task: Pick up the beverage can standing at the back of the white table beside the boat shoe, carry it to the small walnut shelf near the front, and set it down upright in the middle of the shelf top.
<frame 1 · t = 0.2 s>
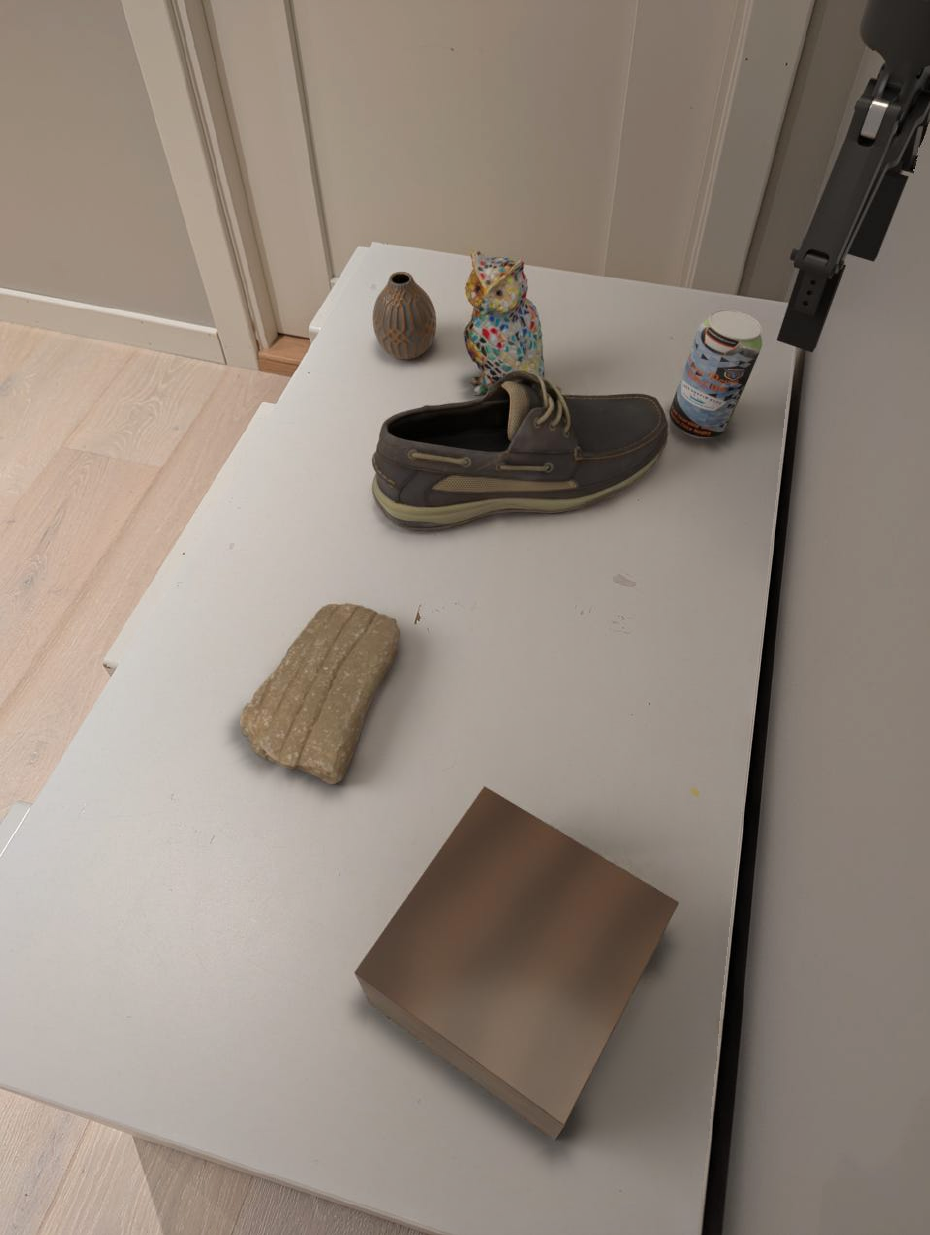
hand: (828, 297, 66), 21 cm above the table, tool pointing down, fingers open, 13 cm apart
beverage can: (701, 425, 89), on the table
boat shoe: (523, 485, 84), on the table
decorative stone: (329, 695, 71), on the table
walnut shelf: (516, 971, 58), on the table
figurine: (505, 390, 92), on the table
vase: (407, 350, 97), on the table
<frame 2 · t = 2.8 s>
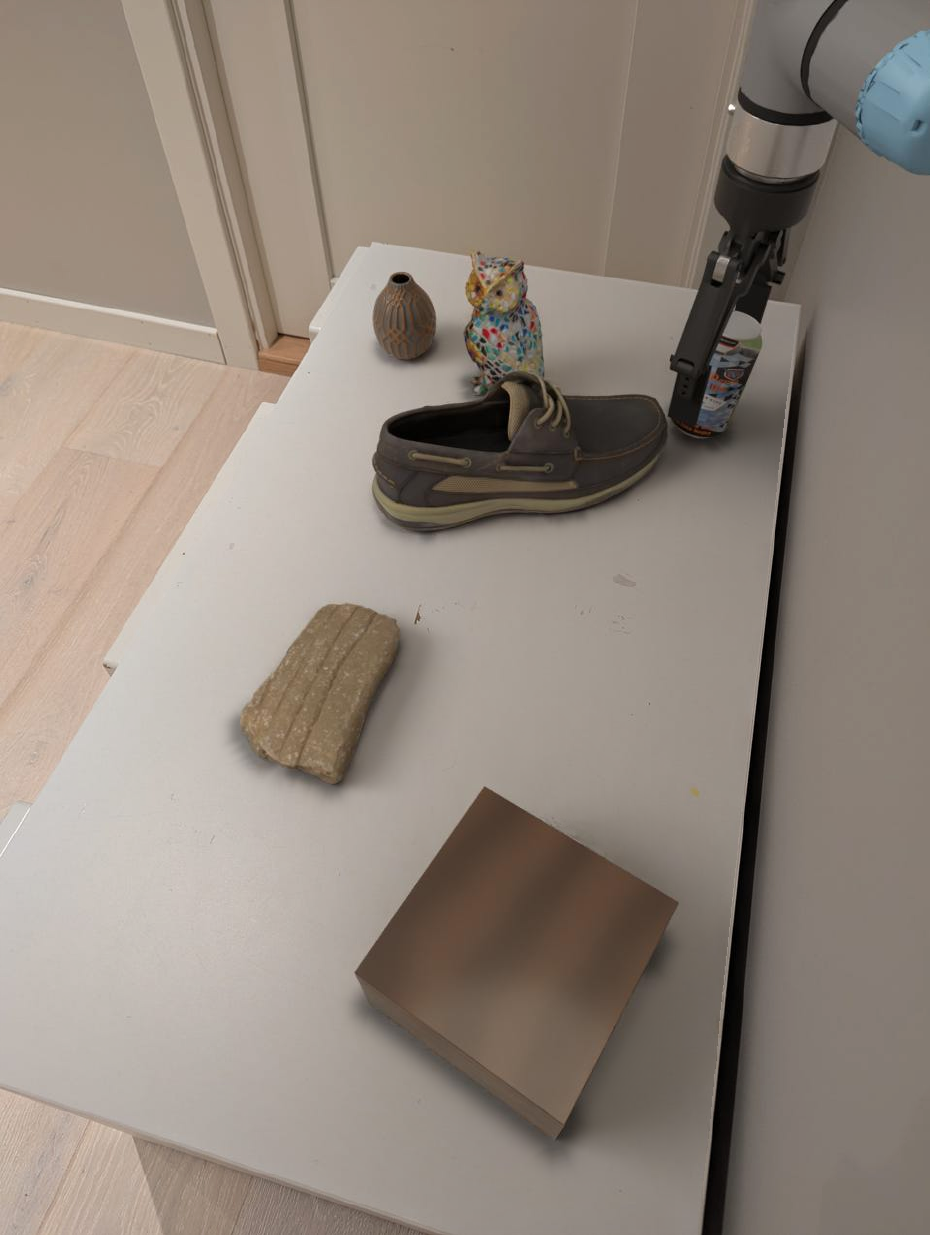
hand: (712, 379, 84), 5 cm above the table, tool pointing down, fingers open, 13 cm apart
boat shoe: (523, 485, 84), on the table, touching gripper
everything else where it was.
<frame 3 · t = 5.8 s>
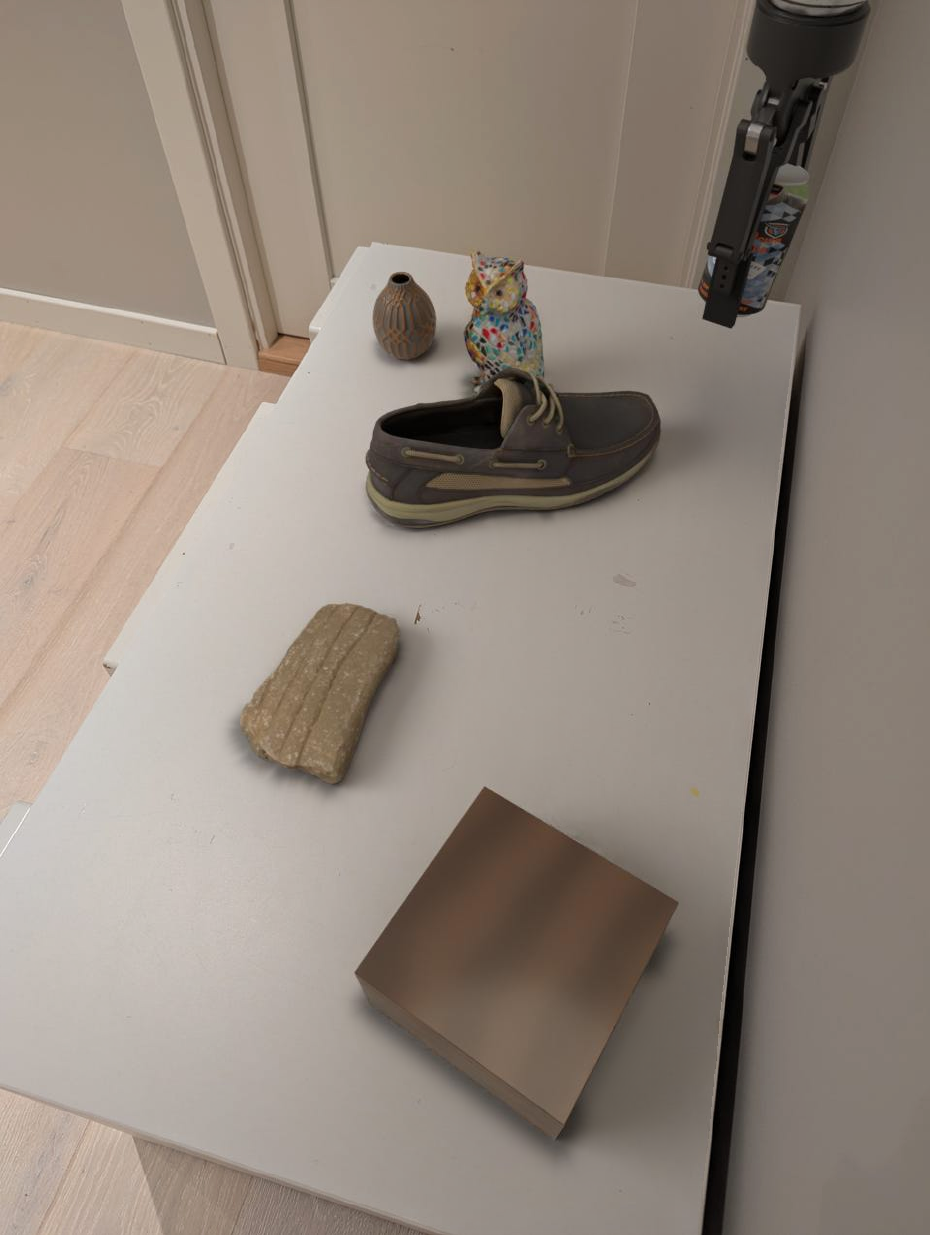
hand: (736, 298, 76), 15 cm above the table, tool pointing down, fingers closed on beverage can, 7 cm apart
beverage can: (734, 306, 77), point 14 cm above the table, touching gripper
boat shoe: (517, 482, 84), on the table
everything else where it was.
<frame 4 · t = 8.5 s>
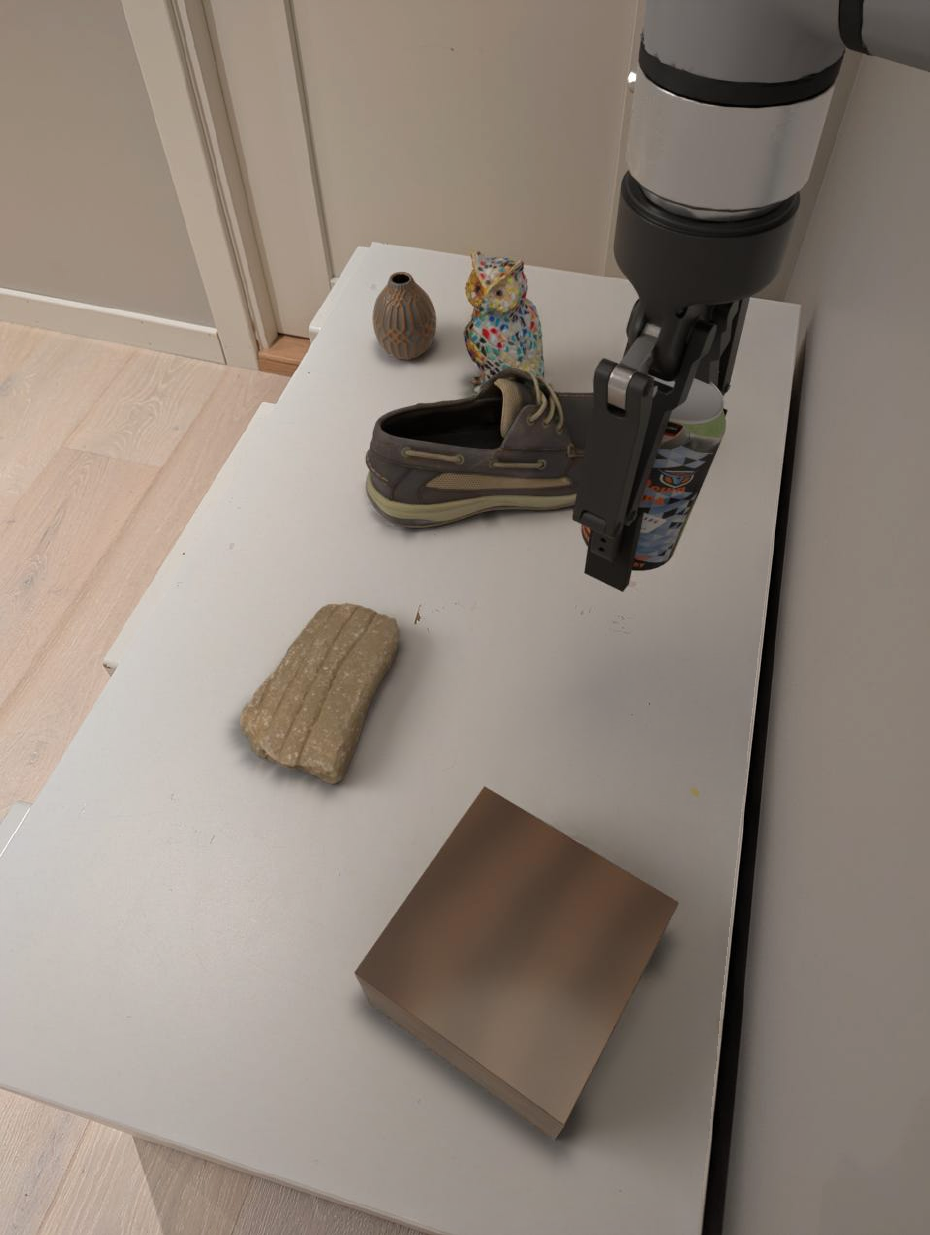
hand: (637, 537, 55), 19 cm above the table, tool pointing down, fingers closed on beverage can, 7 cm apart
beverage can: (634, 544, 55), point 18 cm above the table, touching gripper
everything else where it was.
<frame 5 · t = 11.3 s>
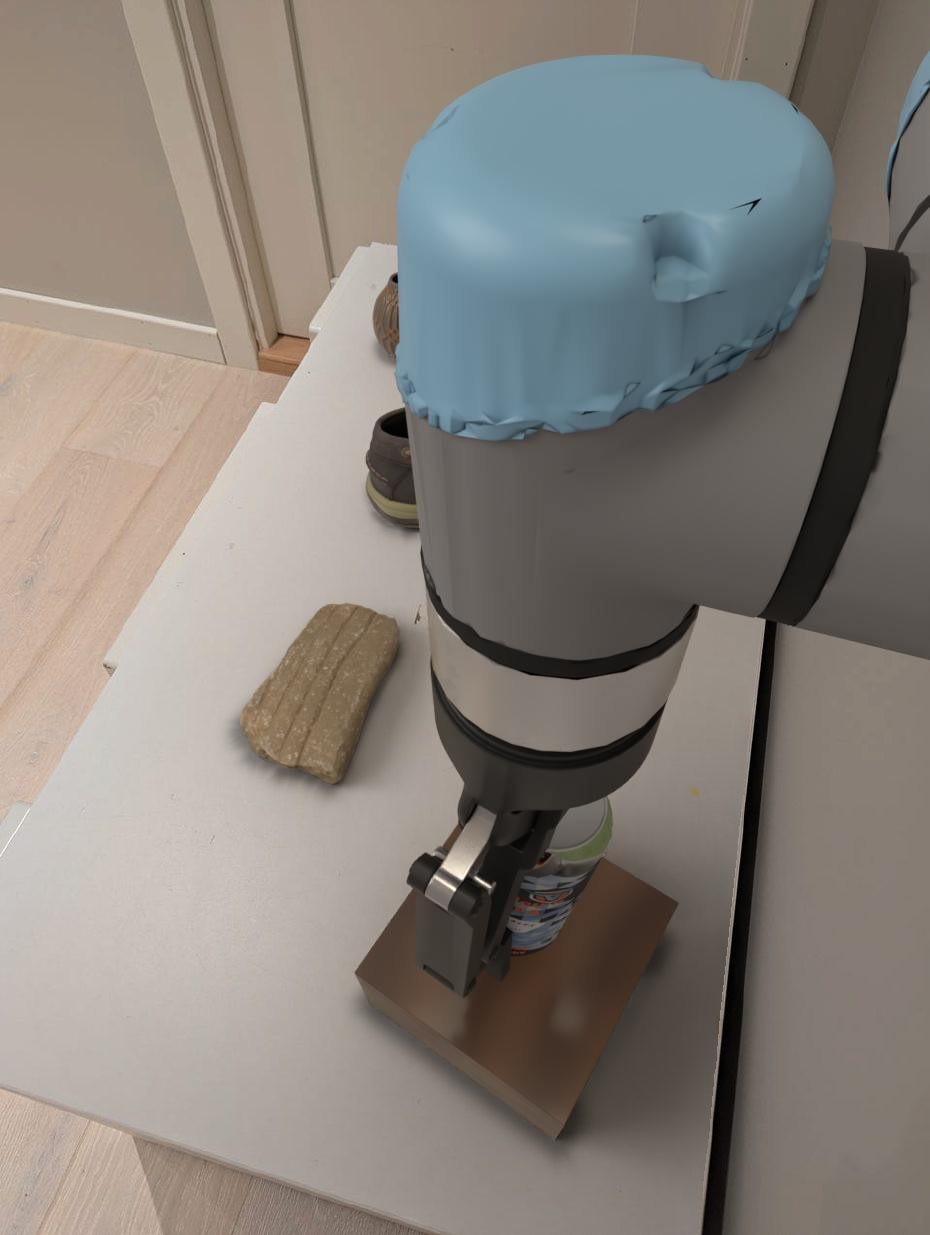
hand: (523, 893, 45), 16 cm above the table, tool pointing down, fingers closed on beverage can, 7 cm apart
beverage can: (522, 897, 46), point 15 cm above the table, touching gripper
everything else where it was.
when the fingers open (9 cm above the table, at t = 13.4 s): beverage can stays where it is, resting on walnut shelf.
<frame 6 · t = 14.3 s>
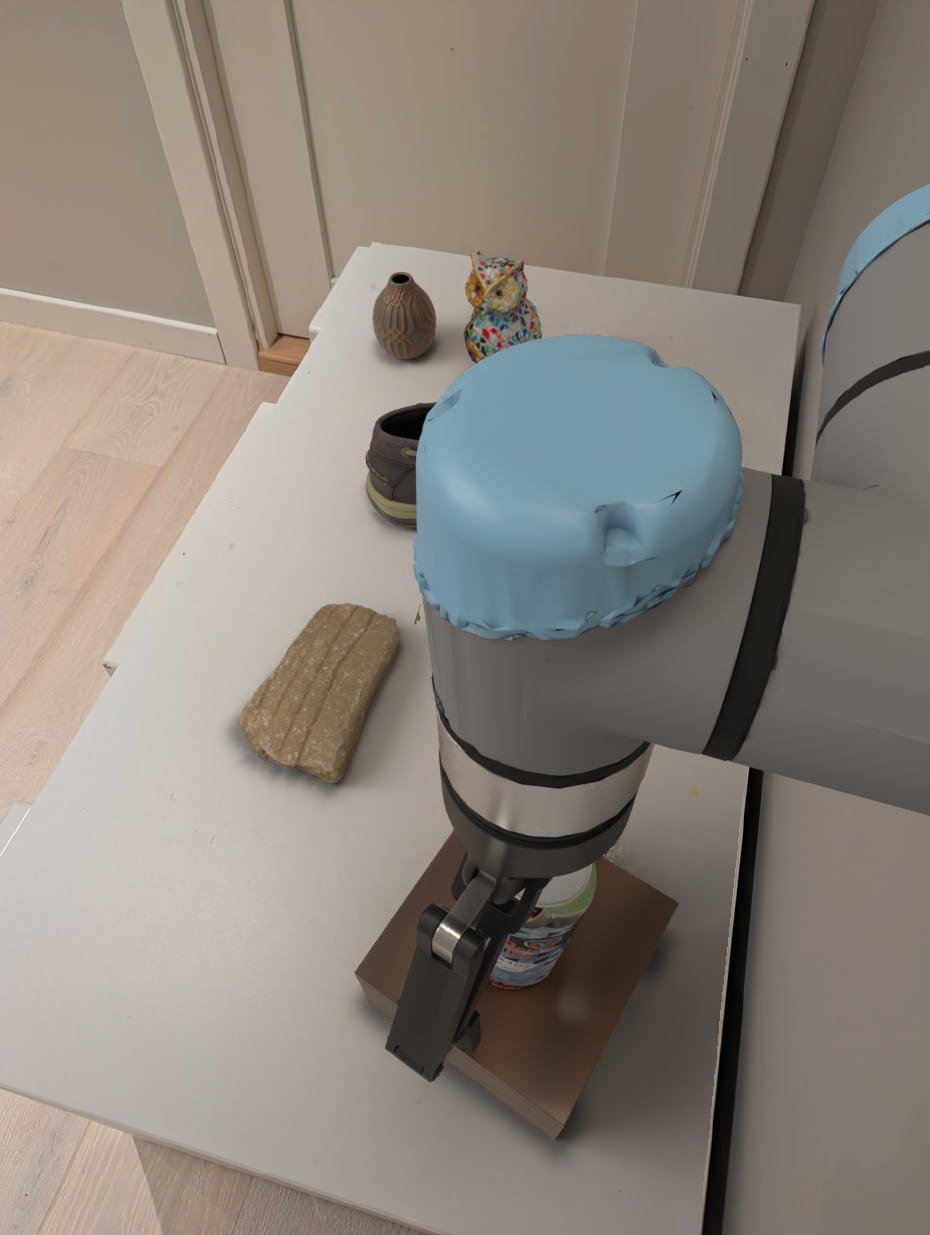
hand: (522, 921, 48), 11 cm above the table, tool pointing down, fingers open, 13 cm apart
beverage can: (518, 937, 51), point 8 cm above the table, touching walnut shelf
everything else where it was.
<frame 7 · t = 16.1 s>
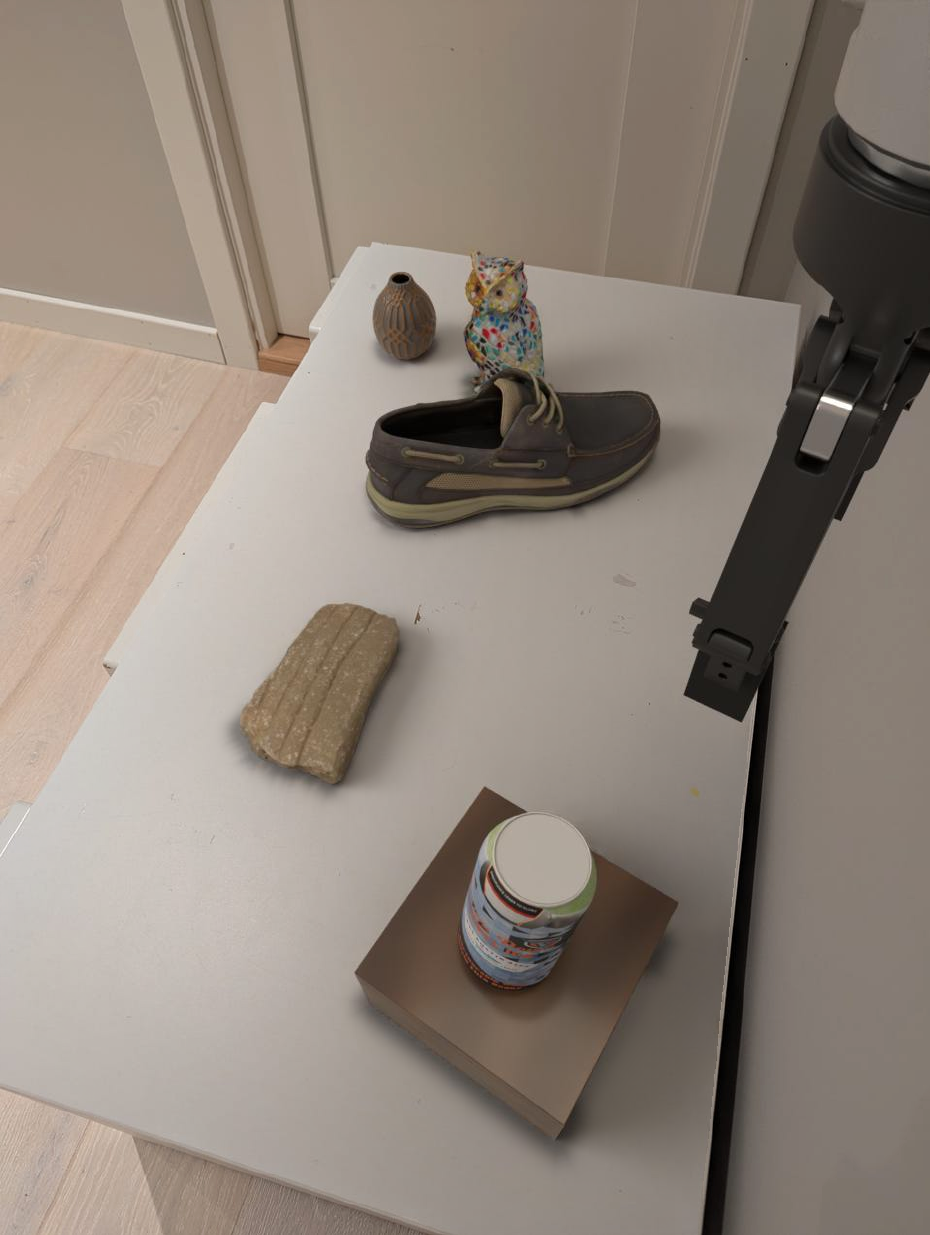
hand: (770, 597, 41), 27 cm above the table, tool pointing down, fingers open, 13 cm apart
nothing on the table moved.
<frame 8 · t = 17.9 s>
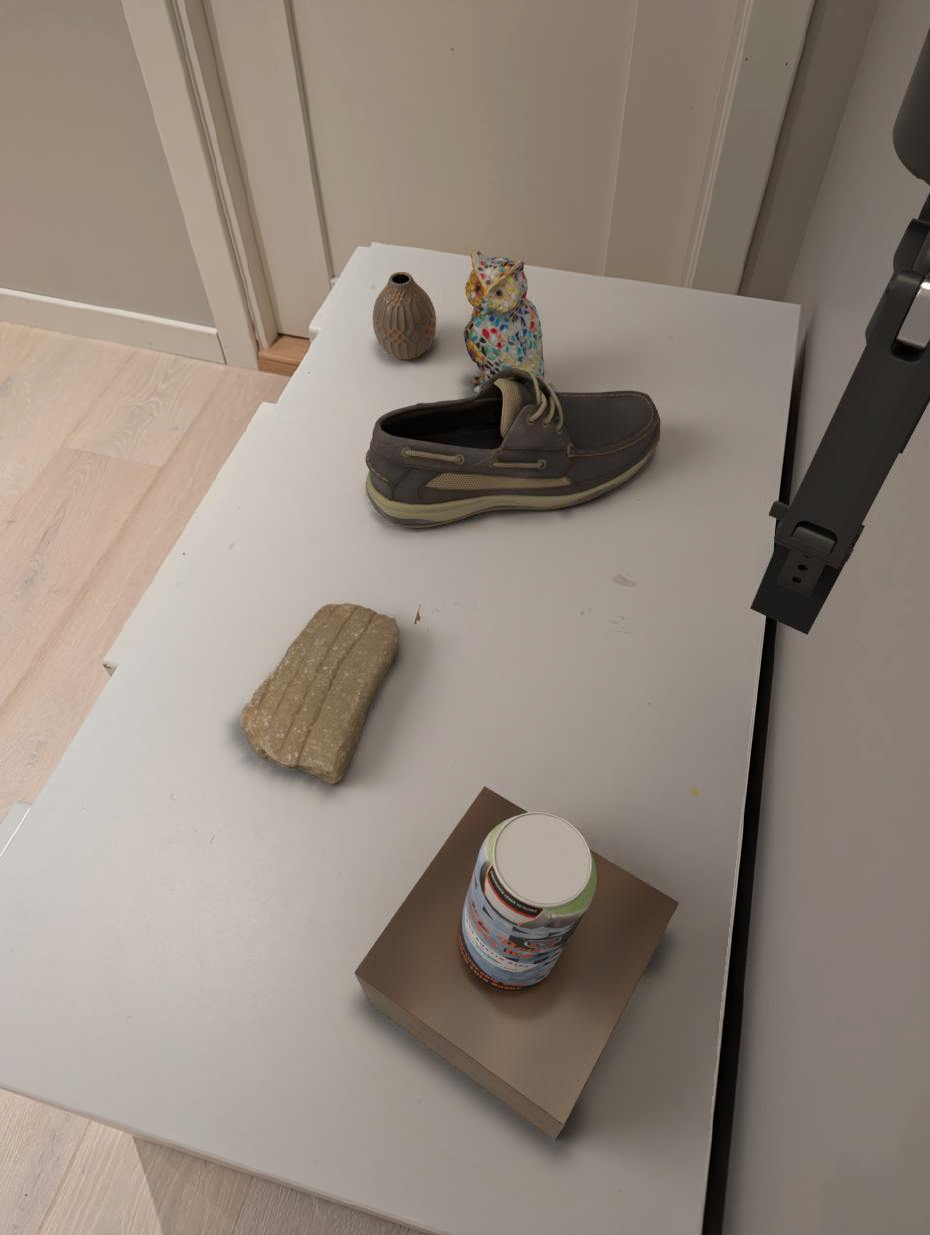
hand: (833, 522, 42), 29 cm above the table, tool pointing down, fingers open, 13 cm apart
nothing on the table moved.
at the end: beverage can inside the target area on the walnut shelf (0.1 cm from its centre), point 7.8 cm above the walnut shelf's base; beverage can tilted 0°; the gripper is holding nothing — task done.
